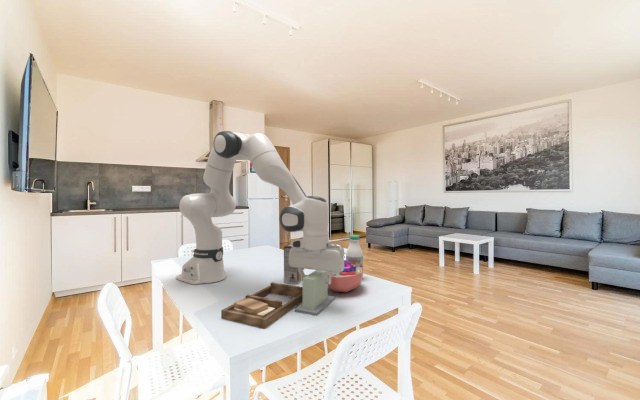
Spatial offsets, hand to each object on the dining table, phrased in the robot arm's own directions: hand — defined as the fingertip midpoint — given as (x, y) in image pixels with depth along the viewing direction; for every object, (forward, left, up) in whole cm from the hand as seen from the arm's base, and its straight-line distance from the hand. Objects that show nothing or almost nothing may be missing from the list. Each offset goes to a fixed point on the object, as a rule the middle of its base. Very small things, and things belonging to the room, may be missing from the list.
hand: (315, 282), depth 99 cm
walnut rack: (-14, -9, -8) cm, 18 cm away
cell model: (+3, +19, -8) cm, 21 cm away
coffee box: (-21, +21, -8) cm, 31 cm away
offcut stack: (-14, -17, -8) cm, 24 cm away
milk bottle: (+3, +35, -8) cm, 36 cm away
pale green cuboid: (0, 0, -7) cm, 7 cm away
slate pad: (0, 0, -8) cm, 8 cm away
